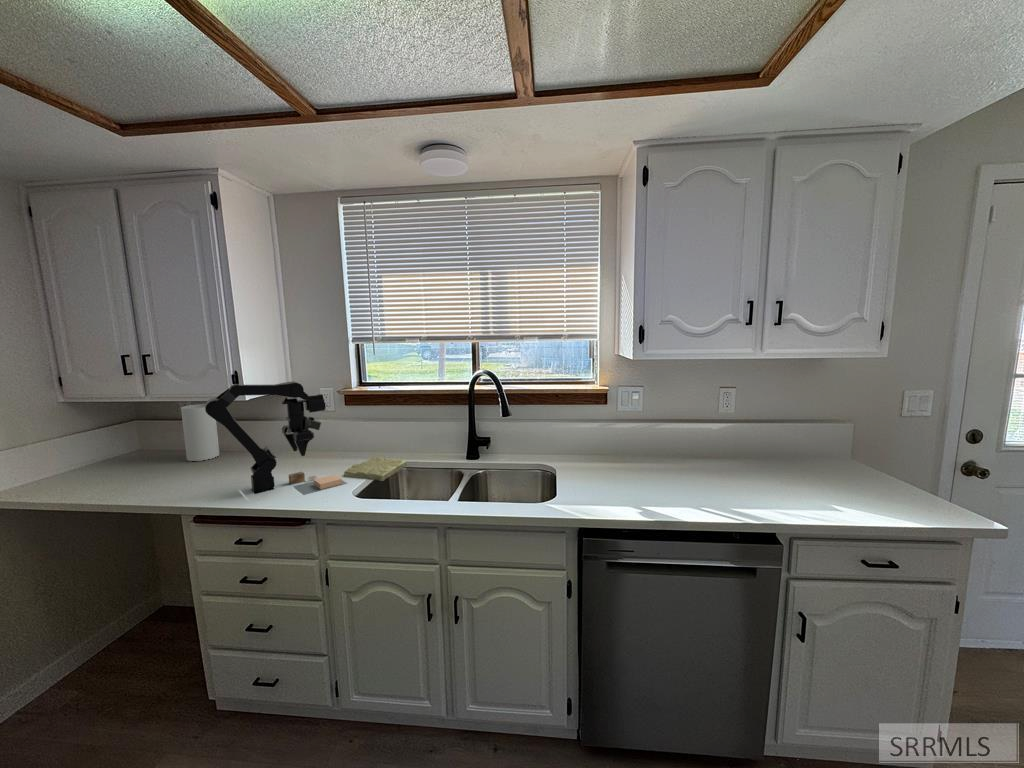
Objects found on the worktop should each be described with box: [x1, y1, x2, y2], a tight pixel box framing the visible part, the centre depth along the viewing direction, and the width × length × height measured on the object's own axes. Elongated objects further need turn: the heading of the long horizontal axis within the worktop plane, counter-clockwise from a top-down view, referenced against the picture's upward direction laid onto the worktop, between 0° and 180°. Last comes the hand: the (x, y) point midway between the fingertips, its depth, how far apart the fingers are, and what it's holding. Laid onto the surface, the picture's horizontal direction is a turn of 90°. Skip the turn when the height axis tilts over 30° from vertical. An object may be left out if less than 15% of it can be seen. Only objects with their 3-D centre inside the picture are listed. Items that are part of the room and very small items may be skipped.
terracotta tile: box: [314, 474, 343, 490], centre depth 158 cm, size 2×7×8 cm
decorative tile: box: [343, 457, 408, 482], centre depth 175 cm, size 19×20×4 cm
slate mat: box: [292, 479, 348, 496], centre depth 158 cm, size 16×12×1 cm
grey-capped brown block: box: [288, 471, 319, 486], centre depth 163 cm, size 10×5×4 cm, turn 134°
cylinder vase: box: [180, 403, 220, 462], centre depth 194 cm, size 12×12×25 cm
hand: (299, 453), depth 161 cm, fingers open, 9 cm apart
